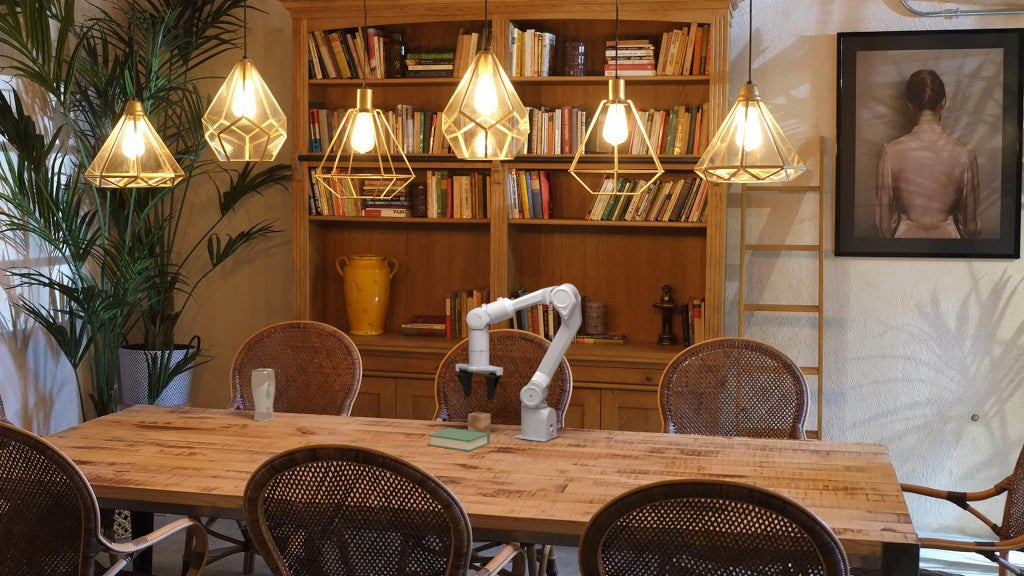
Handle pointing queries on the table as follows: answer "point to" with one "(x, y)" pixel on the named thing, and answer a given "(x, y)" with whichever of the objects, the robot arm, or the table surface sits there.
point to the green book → (459, 439)
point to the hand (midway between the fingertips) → (479, 398)
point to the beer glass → (263, 393)
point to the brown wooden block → (479, 422)
